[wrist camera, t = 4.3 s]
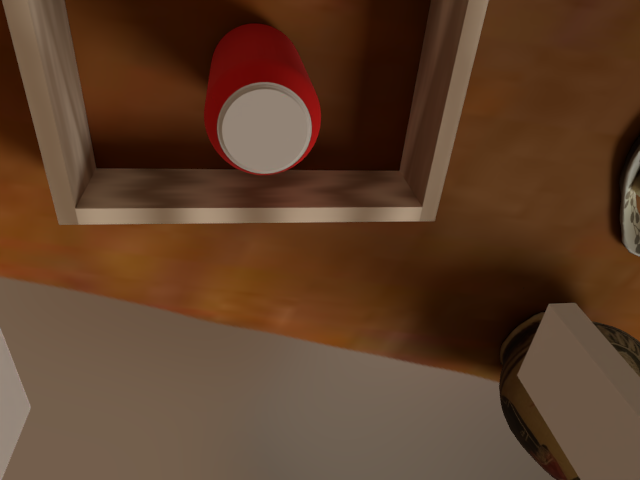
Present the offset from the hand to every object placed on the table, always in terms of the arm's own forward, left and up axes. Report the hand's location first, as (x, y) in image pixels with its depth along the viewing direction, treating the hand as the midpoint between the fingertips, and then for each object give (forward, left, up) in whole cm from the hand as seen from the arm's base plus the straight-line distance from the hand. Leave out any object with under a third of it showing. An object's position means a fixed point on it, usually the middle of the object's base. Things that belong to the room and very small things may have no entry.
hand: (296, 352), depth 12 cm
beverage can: (0, 0, -27) cm, 27 cm away
